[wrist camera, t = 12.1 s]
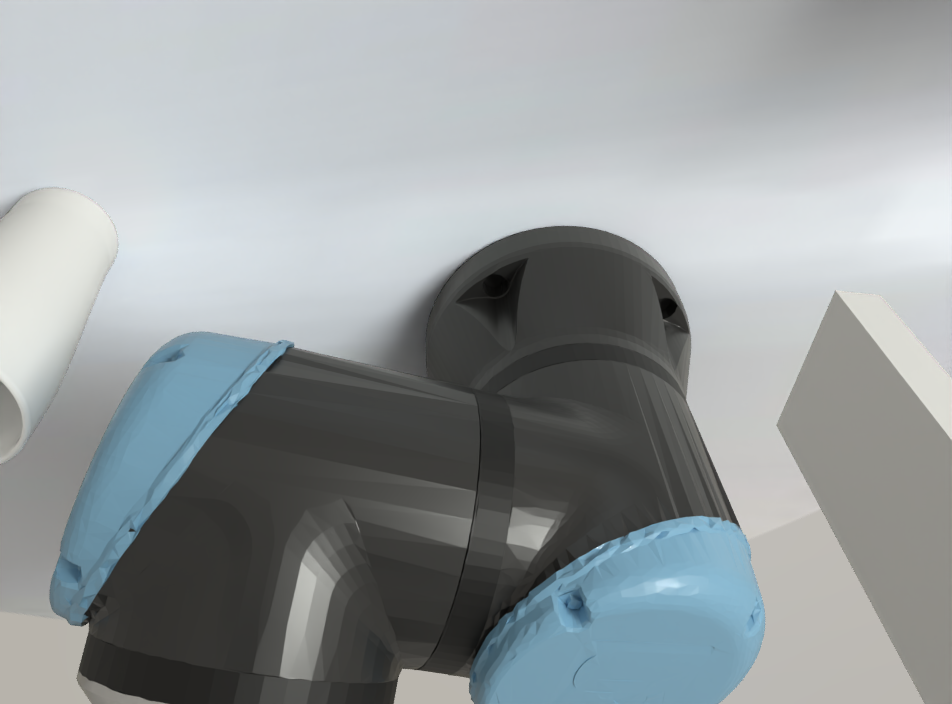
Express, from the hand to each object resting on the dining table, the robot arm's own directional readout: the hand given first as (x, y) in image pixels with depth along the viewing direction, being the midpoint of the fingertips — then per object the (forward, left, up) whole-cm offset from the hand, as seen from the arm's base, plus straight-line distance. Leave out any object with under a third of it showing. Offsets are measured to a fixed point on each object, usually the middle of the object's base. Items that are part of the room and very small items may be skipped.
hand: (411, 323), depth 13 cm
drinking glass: (-17, +16, -31) cm, 39 cm away
